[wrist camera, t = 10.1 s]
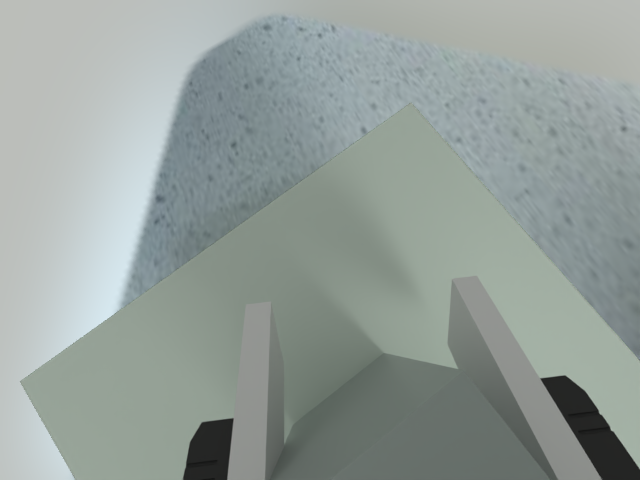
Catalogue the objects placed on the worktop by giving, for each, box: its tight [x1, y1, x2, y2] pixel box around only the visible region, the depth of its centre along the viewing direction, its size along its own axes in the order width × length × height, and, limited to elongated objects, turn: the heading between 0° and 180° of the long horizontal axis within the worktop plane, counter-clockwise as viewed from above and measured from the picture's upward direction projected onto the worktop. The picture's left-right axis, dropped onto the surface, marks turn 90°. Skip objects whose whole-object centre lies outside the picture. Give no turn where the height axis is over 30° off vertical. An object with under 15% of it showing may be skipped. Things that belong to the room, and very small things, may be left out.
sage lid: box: [20, 103, 640, 480], centre depth 11 cm, size 18×18×11 cm
